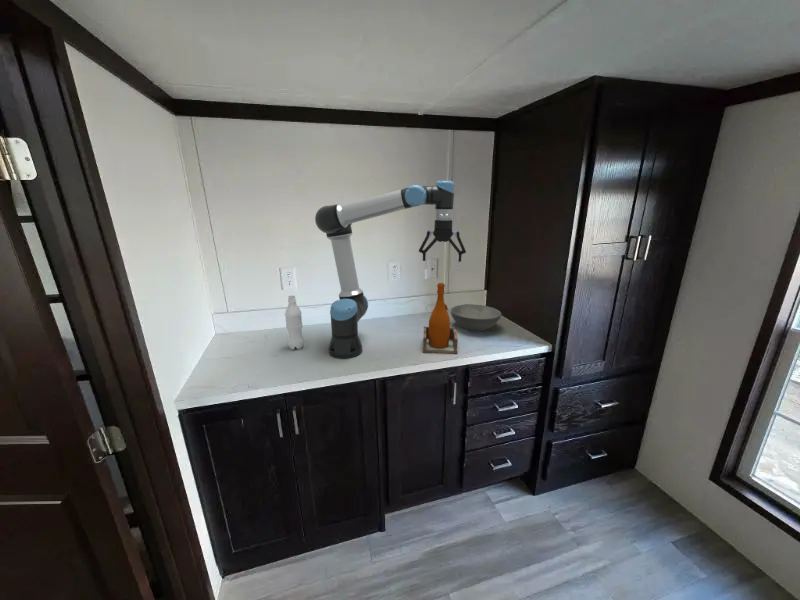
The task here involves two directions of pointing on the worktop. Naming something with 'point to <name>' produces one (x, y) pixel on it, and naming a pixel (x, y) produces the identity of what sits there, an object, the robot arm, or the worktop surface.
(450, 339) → the walnut U-rest
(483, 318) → the bowl
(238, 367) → the worktop surface
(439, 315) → the wine bottle
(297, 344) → the water bottle
